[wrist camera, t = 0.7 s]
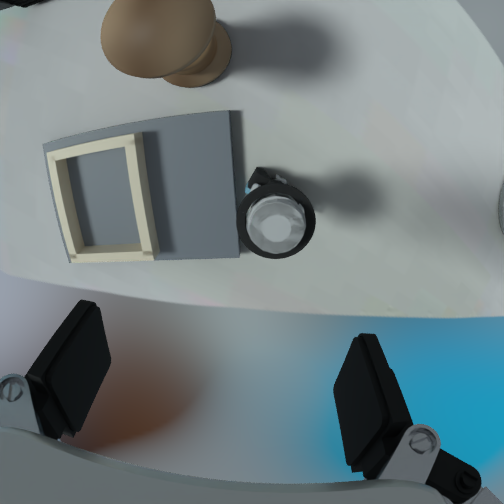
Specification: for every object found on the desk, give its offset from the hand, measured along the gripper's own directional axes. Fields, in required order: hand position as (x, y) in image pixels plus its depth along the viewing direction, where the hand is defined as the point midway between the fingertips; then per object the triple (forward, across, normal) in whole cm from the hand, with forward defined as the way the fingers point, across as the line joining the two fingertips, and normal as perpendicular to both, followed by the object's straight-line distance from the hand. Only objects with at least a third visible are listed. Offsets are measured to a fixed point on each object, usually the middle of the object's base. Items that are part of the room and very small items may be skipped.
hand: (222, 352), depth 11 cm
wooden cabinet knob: (+21, +6, -13) cm, 25 cm away
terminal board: (+21, +11, +1) cm, 24 cm away
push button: (+21, -3, 0) cm, 21 cm away
